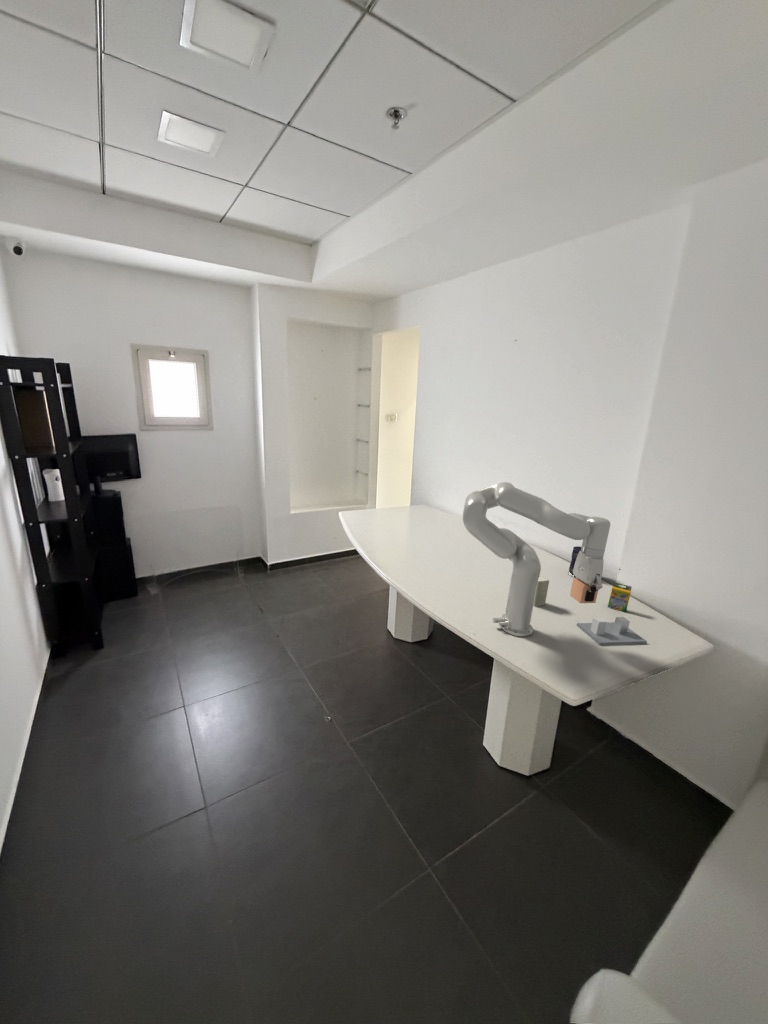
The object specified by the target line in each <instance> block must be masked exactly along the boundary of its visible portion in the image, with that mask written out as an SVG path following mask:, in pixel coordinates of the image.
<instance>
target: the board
mask: <svg viewBox="0 0 768 1024" xmlns="http://www.w3.org/2000/svg"><path fill="white" fill-rule="evenodd" d="M614 623H615V621H614V622H613V621H612V622H608V621H606V620H605V619H604V618H603V617H600V616H598V617H597V616H596V617H594V616H593V618H592V622H577V623H576V627H578V628H579V629H580V630H581V631H582V632H583V633H584V634H586V635H587V636H588V637H589V638H591V640H593V641H594V642H595V643H596V644H598V645H599V646H609V645H610V646H611V645H613V646H615V645H642V644H643V645H644V644H645V645H647V642H648V640H646V639H645V638H643V637H642V636H641V635H639V634H637V632H635V631H634V630H632V629H631V628H629V627H628V631H627V634H618V633H617V632H616V631H614V630H613V627H614Z"/></svg>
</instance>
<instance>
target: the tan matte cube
mask: <svg viewBox="0 0 768 1024" xmlns="http://www.w3.org/2000/svg"><path fill="white" fill-rule="evenodd" d="M572 578H573V579H572V583H571V589H570V595H569V596H570V597H571V598H573V600H574V601H576V602H578V603H579V604H596V603H597V597H598V593H599V590H598V591H597V592H595V596H594V601H590V602H586V601H585V596H586V592H587V591H588V584H586V583H584V582H583V581H581V580H580V579H578V578H574V577H572ZM593 586H594V585H591V588H592V587H593Z"/></svg>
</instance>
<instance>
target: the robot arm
mask: <svg viewBox="0 0 768 1024" xmlns="http://www.w3.org/2000/svg"><path fill="white" fill-rule="evenodd" d="M495 507H501V508H502V509H504V510H507V511H509V512H512V513H515V514H517V515H519V516H522V517H525V518H526V519H529V520H531V521H533V522H535V523H536V524H538V525H541V526H543V527H544V528H546V529H549V530H551V531H552V532H554V533H557V534H558V535H562V536H564V537H566V538H569V539H571V540H575V541H581V540H582V542H581V543H582V544H581V546H580V547H581V551H579V553H578V556H577V558H576V562H575V565H574V569H573V574H574V577H573V578H578V579H580V580H581V581H583V582H584V583H586V584H588V591H587V592H586V596H585V601H586V602H590V601H594V596H595V592H597V591H598V592H599V590H601V589H603V584H602V576H603V571H604V557H605V556H604V555H605V551H606V548H607V542H608V539H609V534H610V529H611V521H610V520H609V519H608V518H604V517H600V516H587V515H583V514H580V513H576V512H574V513H573V512H571V513H567V512H564V511H563V510H561V509H558V508H557V507H555V506H554V505H553V504H551V503H550V502H548V501H546V500H545V499H543V498H542V497H539V496H536V495H534V494H531V493H530V492H529V493H528V492H526V491H524V490H522V489H519V488H517V487H515V485H513V484H512V482H508V481H505V482H499V483H497V484H493V485H490V486H488V487H484V488H481V489H477V490H475V491H472V492H471V493H469V494H468V495H467V496H466V498H465V501H464V507H463V511H462V513H463V514H462V522H463V525H464V527H465V529H466V530H467V532H468V533H469V534H470V535H471V536H472V537H474V538H475V540H477V541H478V542H480V543H481V544H482V545H483V546H485V547H486V548H487V549H488V550H490V551H491V552H492V553H493V554H494V555H495V556H497V557H498V558H501V559H503V560H504V559H508V560H509V561H511V562H512V573H511V577H510V582H509V588H508V595H507V600H506V607H505V614H502V616H501V617H492V623H493V624H498V626H499V627H500V628H501V630H502V631H504V632H505V633H507V634H509V635H512V636H515V637H522V638H523V637H528V636H531V635H532V634H533V633H534V627H533V626H532V625H531V620H532V614H533V609H534V606H533V603H534V598H535V592H536V587H537V582H538V579H539V577H540V575H541V572H542V571H541V569H542V566H541V562H540V558H539V556H538V555H537V553H536V550H535V549H534V548H533V547H532V546H531V545H529V544H528V543H527V542H526V541H525V540H523V539H522V538H521V537H520V536H518V535H517V534H516V533H515V532H513V531H512V530H510V529H508V528H504V527H498V526H497V525H496V524H495V523H493V522H492V521H490V520H489V519H488V518H487V512H488V510H490V509H493V508H495ZM591 585H594V586H593V587H592V588H591Z"/></svg>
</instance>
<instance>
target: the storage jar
mask: <svg viewBox="0 0 768 1024" xmlns="http://www.w3.org/2000/svg"><path fill="white" fill-rule="evenodd" d="M581 547H582V546H578V545H577V546H573V549H572V552H571V560H570V564H569V568H568V573H569V572H570V573H571V574H572V575H574V574H573V569H574V565H575V562H576V558H577V556H578V553H579V551H581Z"/></svg>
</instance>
